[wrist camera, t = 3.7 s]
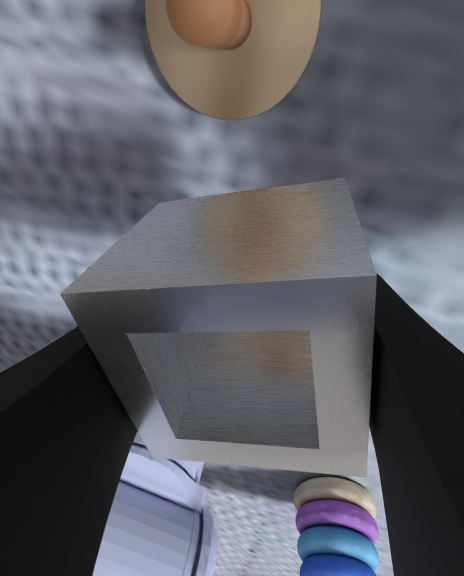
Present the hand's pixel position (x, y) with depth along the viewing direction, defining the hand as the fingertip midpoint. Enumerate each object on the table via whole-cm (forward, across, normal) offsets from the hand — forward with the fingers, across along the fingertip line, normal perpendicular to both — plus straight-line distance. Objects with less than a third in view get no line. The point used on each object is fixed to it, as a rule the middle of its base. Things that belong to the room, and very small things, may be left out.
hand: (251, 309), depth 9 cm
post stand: (+10, +1, -8) cm, 12 cm away
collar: (+2, 0, 0) cm, 2 cm away
